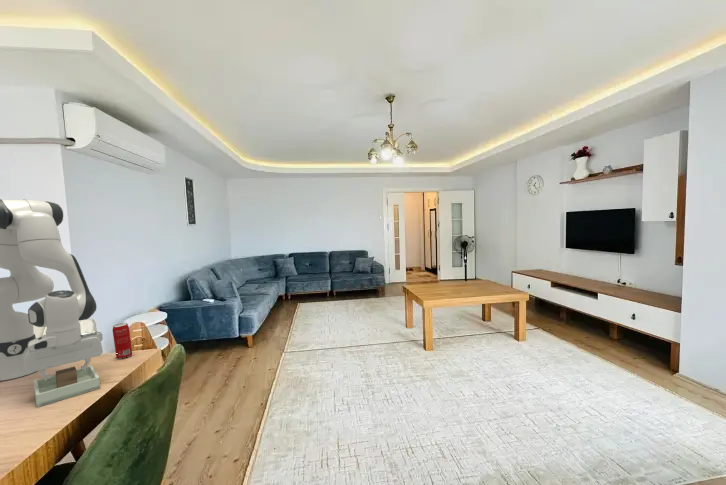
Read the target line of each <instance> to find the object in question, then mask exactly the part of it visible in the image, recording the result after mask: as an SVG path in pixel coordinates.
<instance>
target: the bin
mask: <svg viewBox="0 0 726 485" xmlns="http://www.w3.org/2000/svg"><path fill="white" fill-rule="evenodd" d="M76 370H77V383H75V384H71V385H68V386H64V387H61V388H57V384H56V374H55V375H50V376H51V380H50V381H47V382H45V380H44V377H43V378H39V379H34V380H33V385H34V387H33V388H34V389H33V390H34V396H35V405H36V408H40V407H43V406H46V405H50V404H54V403H56V402H59V401H62V400H66V399H70V398H73V397H76V396H79V395H82V394H85V393H90V392H92V391H96V390H100V389H101V384H100V383H101V382H100V376H99V375H98V373H97V371H96V369H95V368H94V366H93V365H88V366H87V371H85V372H81V368H76Z"/></svg>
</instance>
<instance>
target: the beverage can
mask: <svg viewBox="0 0 726 485" xmlns="http://www.w3.org/2000/svg"><path fill="white" fill-rule="evenodd" d="M130 334H131V333H130V327H129V324H128V322H121V323H117V324H114V325H113V326H112V336H113V344H114V351H115V358H116V359H117V360H123V359H122V358H125V359H127V358H126V357H128V358H130V357H131V356H132V355H133V350H132V349H133V348H132V342H131V335H130ZM116 353H118V354H116ZM129 356H130V357H129Z"/></svg>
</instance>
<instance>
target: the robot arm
mask: <svg viewBox="0 0 726 485" xmlns="http://www.w3.org/2000/svg"><path fill="white" fill-rule="evenodd" d="M63 221H64V209H63V208H62V207H61V206H60V205H59V204H58V203H55V202H51V201H41V200H35V199H1V198H0V269H5V270H8V271H9V273H10V276H5V277H0V381H7V380H8V381H9V380H12V379H17V378H22V377H23V376H27V375H28V376H29V375H31V374H33V373H36V372H39V375H41V376H42V377H43V378H44V380H45V382H47V381H50V380H51V376H52V375H51V374H46V370H47V369H50V368H55V367H59V366H63V365H67V364H71V363H75V362H76V363H77V362H80V361H84V362H85V363H84V365H82V366H80V369H81V372H85V371H87V367H89V364H90V363H91V359H93V358H97V357H100V356H101V355H102V354H103V352H104V350H103V344H102V341H103V332H102V333H101V332H100V331H97V330H95V331H91V332H84V333H82V332H81V330H82V329H81V328H82V327H81V323H80V321H85V320H87V321H88V319H89V318H91V317H92V316H93V315H94V314H95V312H96V311H97V303H96V300H95V298H94V297H93V295H92V293H91V291H90V289H89V286H88V284H87V281H86V278H85V276H84V274H83V270H82V268H81V266H80V264H79V261H78V260H77V258H76V257H75V256H74V255H73V254H71V253H69V252H68V251H67V250H66V249H65V248H64V246H63V244H62V240H61V234H60V231H59V228H58V226H60V224H62V222H63ZM37 267H39V268H44V269H45V268H46V269H49V270H50V269H51V270H55V271H57V272H60V273H62V274H63V275H64V276H65V277H66V280H67V282H68V285H69V287H70V290H67V289H66V290H65V289H64V290H63V289H62V290H55V291H53V290H54V288H55V287H54V286H55V285H54V281H53V279H52V278H51V277H50V276H48V275H46V274H44V273H42V272H41V271H40V270H39V269H38V268H37ZM40 299H42V300H40ZM37 300H39V301H37ZM33 301H35V302H34V303H33V304H31V305H30V307H28V310H27V313H26V312H22V311H17V310H15V309H14V308H13V305H15V304H23V303H26V302H33ZM34 327H38V328H46V329H45V334H44V335H42V336H39V337H36V334H35V332H34Z"/></svg>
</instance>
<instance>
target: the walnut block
mask: <svg viewBox="0 0 726 485" xmlns="http://www.w3.org/2000/svg"><path fill="white" fill-rule="evenodd" d="M55 375H56V384H57V388H61V387H64V386H68V385H71V384H75V383H77V368H76V366H71V367H67V368H62V369H59V370H55Z"/></svg>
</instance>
